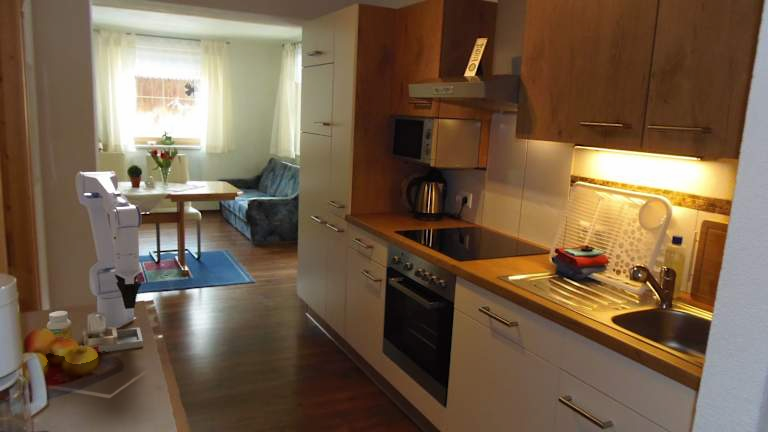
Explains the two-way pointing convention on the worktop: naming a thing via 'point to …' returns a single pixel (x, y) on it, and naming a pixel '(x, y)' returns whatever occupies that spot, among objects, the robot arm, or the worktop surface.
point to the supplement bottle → (60, 324)
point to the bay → (124, 340)
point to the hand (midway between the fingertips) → (128, 303)
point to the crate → (109, 339)
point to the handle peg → (96, 325)
